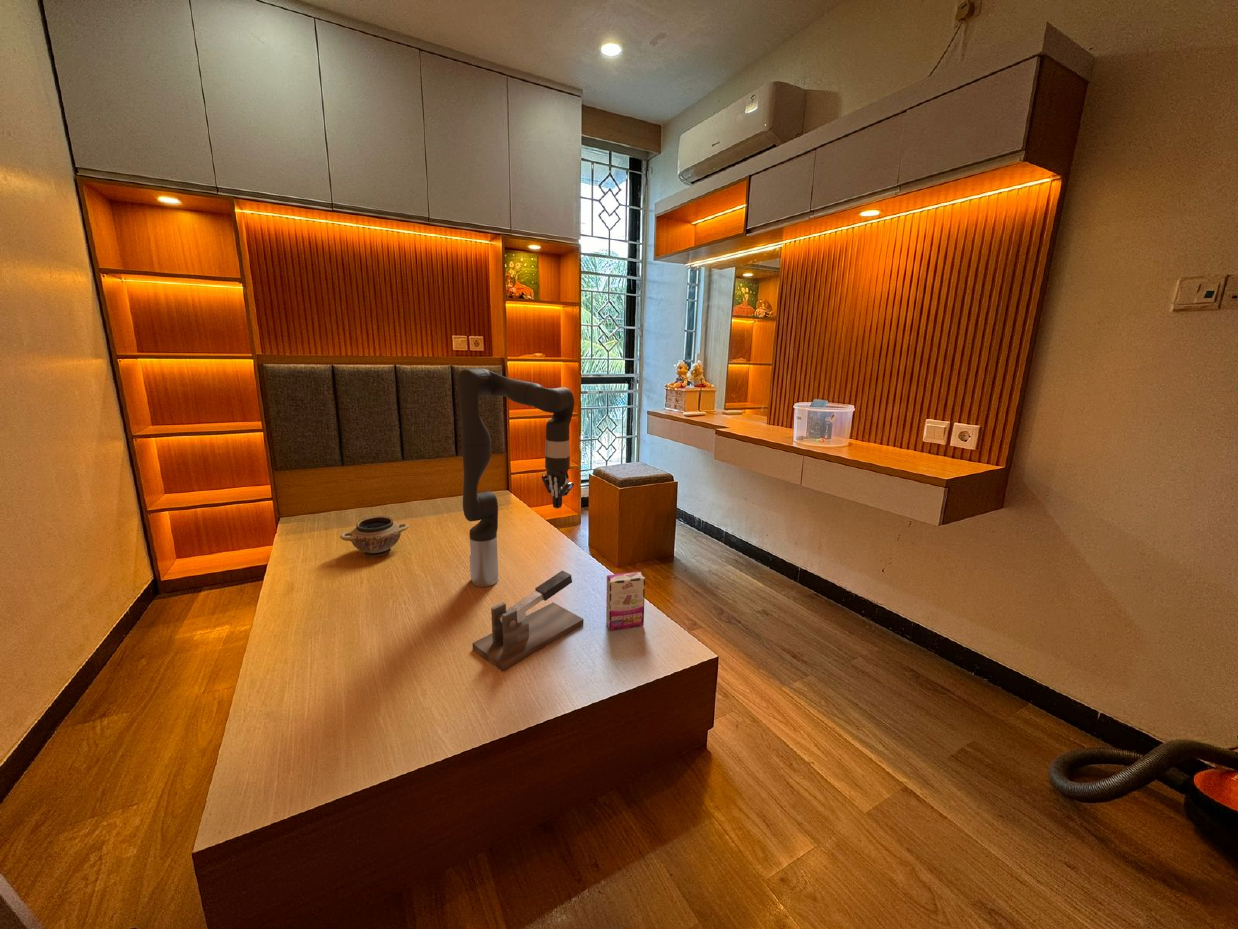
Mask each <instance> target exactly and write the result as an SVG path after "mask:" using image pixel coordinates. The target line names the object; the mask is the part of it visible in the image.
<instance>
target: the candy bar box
mask: <svg viewBox="0 0 1238 929" xmlns="http://www.w3.org/2000/svg"><path fill="white" fill-rule="evenodd" d="M645 594H646V577H645V576H644V575H643V572H642V571H636V572H635V571H634V572H633V571H632V572H624V573H616V574H607V575H606V603H605V604H606V606H605V607H606V610H605V611H606V612H605V613H606V614H605V615H606V618H605V620H606V625H607V626H608V629H609V631H617V630H624V629H629V628H637V627H643V626H644V624H645V623H644V622H645V596H646V595H645Z"/></svg>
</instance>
